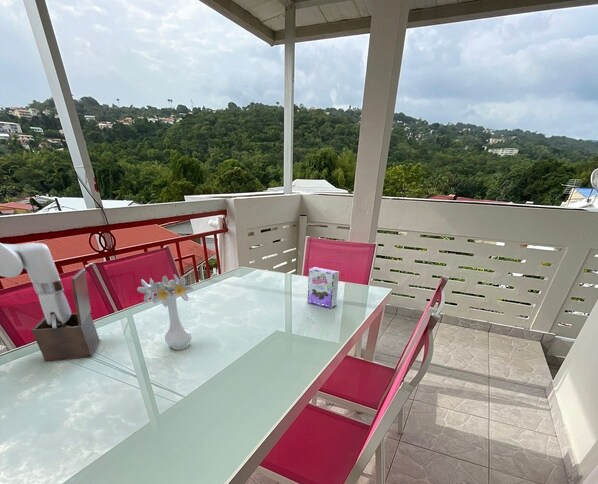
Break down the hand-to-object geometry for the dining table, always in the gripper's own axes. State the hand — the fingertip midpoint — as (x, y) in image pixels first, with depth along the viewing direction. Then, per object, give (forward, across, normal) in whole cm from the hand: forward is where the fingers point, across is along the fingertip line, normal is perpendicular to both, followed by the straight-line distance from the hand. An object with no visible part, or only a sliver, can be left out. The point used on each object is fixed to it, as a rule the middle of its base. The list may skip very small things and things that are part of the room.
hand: (69, 339), depth 114 cm
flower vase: (+4, +5, +35) cm, 36 cm away
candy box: (+4, -29, +103) cm, 107 cm away
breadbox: (+4, 0, 0) cm, 4 cm away
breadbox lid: (-14, 0, +8) cm, 16 cm away
